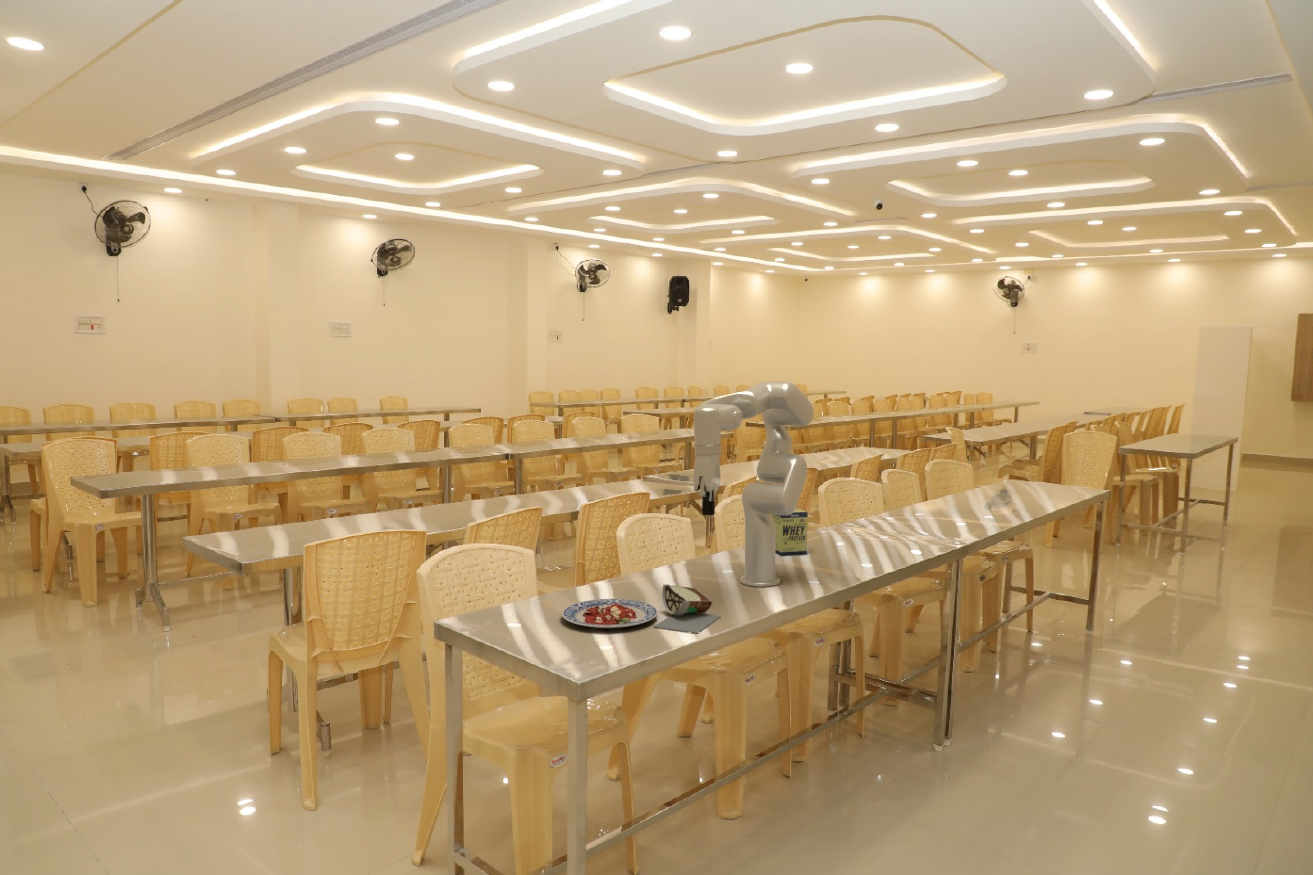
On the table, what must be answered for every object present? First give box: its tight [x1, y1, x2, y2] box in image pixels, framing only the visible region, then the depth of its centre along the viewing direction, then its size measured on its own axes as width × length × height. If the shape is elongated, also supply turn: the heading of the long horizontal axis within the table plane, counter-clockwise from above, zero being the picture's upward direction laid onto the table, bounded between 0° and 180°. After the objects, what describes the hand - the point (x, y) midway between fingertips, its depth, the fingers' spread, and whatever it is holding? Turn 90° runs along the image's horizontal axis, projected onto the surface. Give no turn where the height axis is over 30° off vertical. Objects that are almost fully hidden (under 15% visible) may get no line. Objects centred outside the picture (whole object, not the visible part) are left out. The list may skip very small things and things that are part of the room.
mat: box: [653, 613, 721, 634], centre depth 227 cm, size 16×12×1 cm
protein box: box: [770, 507, 808, 557], centre depth 312 cm, size 10×16×16 cm
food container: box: [661, 584, 713, 616], centre depth 234 cm, size 12×6×10 cm
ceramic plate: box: [561, 598, 659, 630], centre depth 230 cm, size 26×26×3 cm
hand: (708, 514), depth 242 cm, fingers closed
